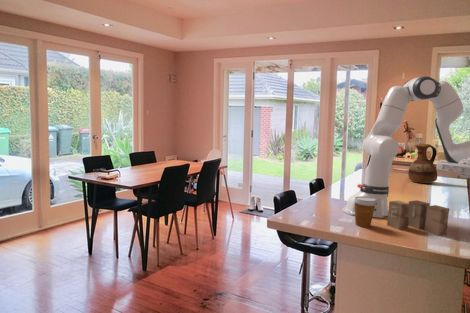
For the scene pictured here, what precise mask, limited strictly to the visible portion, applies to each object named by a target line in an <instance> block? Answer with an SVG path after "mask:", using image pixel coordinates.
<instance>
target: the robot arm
mask: <svg viewBox="0 0 470 313" xmlns="http://www.w3.org/2000/svg"><path fill="white" fill-rule="evenodd" d="M424 100H429V101H430V102H431V104H432V105H433V108H434V109H435V112H436V117H435V122H434V123H435V124H434V125H435V128H436V131H437V135H438V137H439V141H440V143H441V146H442V149H443V156H444V159H445V161H444V162H443V161H439V162H436V170H437V171H442V172H448V173H449V172H450V173H456V174H458V176H460V177H462V178H464V179H470V140H467V141H464V142H460V143H454V141H453V138H452V134H451V131H450V126H451V124H453V123H454V122H455V121H456V120H457V119H459V118H460V116H461V115H462V114H463V112H464V104H463V102H462V100H461V98H460V97H459V95H458V93H457V90H455V88H454V87H453V86H452V85H451V84H450V83H449V81H446V80H439V81H437V80H435V79H434V78H433V77H431V76H428V75H427V76H426V75H425V76H418V77H413V78H412V79H409V80H407V81H406V82H405V83H404V84H403V85H394V86H392V87H390V88H389V89H388V92H387V93H386V95H385V97H384V99H383V101H382V103H381V104H382V105H381V107H380V110H379V113H378V115H377V118H376V120H375V121H374V124H373V126H372V127H371V130H370V131H369V133H368V134H367V136H366V137H365V138H364V139H363V142H362V148H363V150H364V151H365V153H366V154H368V155H369V156H370V158H369V162H368V165H367V166H366V168H365V174H364V183H363V184H361V183H357V185H356V186H357V188H358V189H359V191H358V192H356V193H355V194H353V195H351V196H349V198H348V199H347V203H346V206H341V211H342V212H343V213H345V214H347V215H351V216H355V203H354V199H355V197H357V196H364V197H371V198H374V199H376V205H375V208H374V212H373V217H372V218H381V219H382V218H383V219H384V218H385V217H388V210H389V204H388V197H389V192H390V190H389V189H390V187H389V186H390V185H389V183H390V182H389V179H390V172H391V168H392V164H393V161H394V159H395V157H396V156H397V155H398V154H399V151H400V146H399V142H397V140H396V139H394V138H393V135H394V134H395V133H396V131H397V130H398V129H399V128H400V127H401V124H402V121H403V118H404V117H405V114H406V113H405V112H406V110H407V107H408V105H409V103H410V102H413V101H414V102H415V101H416V102H417V101H418V102H419V101H420V102H421V101H424Z"/></svg>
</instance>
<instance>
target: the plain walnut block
mask: <svg viewBox="0 0 470 313" xmlns="http://www.w3.org/2000/svg"><path fill="white" fill-rule="evenodd" d="M449 214H450V208H449V207H444V206H440V205H437V204H435V205H434V204H433V205H429V206H427V213H426V222H425V228H424V232H425V233H429V234H432V235H434V236H437V237H438V236H444V235H446V234H447V231H448V223H449Z"/></svg>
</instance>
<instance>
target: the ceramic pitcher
mask: <svg viewBox="0 0 470 313" xmlns="http://www.w3.org/2000/svg"><path fill="white" fill-rule="evenodd" d="M414 147H416V149H417V151H416V152H417V157H416V159H414V160H413V162H412V163H411V164H410V165H409V168H408V172H407V173H408V174H407V177H408V179H409V181H411V182H414V183H418V182H419V183H421V184H426V183H434V182H436V181H438V170H437V167H436V166H435V164H434V163H435V159H436V158H437V151H438V150H437V149H436V148H437V147H436V148H435V147H434V146H433V145H431V144H429V143H426V144H425V143H421V144H414ZM429 148H430V149H431V150H432V153H431V157H430V159H428V156H427V151H428V149H429Z"/></svg>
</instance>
